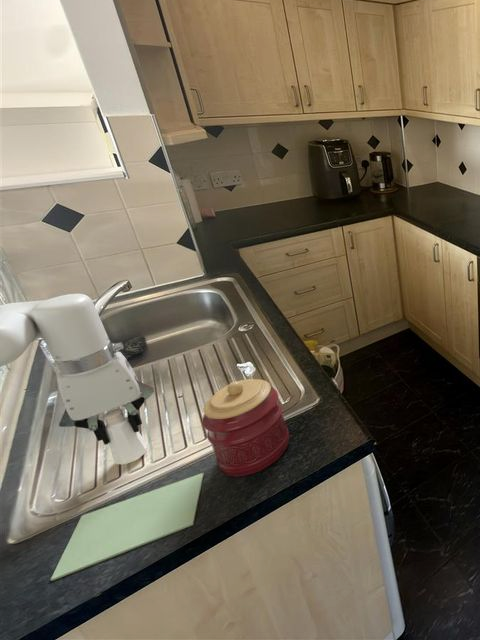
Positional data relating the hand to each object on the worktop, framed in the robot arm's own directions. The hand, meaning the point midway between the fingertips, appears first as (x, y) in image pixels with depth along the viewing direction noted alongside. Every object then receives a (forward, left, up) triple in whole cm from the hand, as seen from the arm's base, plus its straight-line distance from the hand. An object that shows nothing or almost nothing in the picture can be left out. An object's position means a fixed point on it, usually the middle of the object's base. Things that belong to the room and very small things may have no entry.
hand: (122, 433), depth 82 cm
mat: (+5, -19, -6) cm, 20 cm away
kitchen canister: (+23, -12, -7) cm, 26 cm away
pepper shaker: (0, 0, -6) cm, 6 cm away
